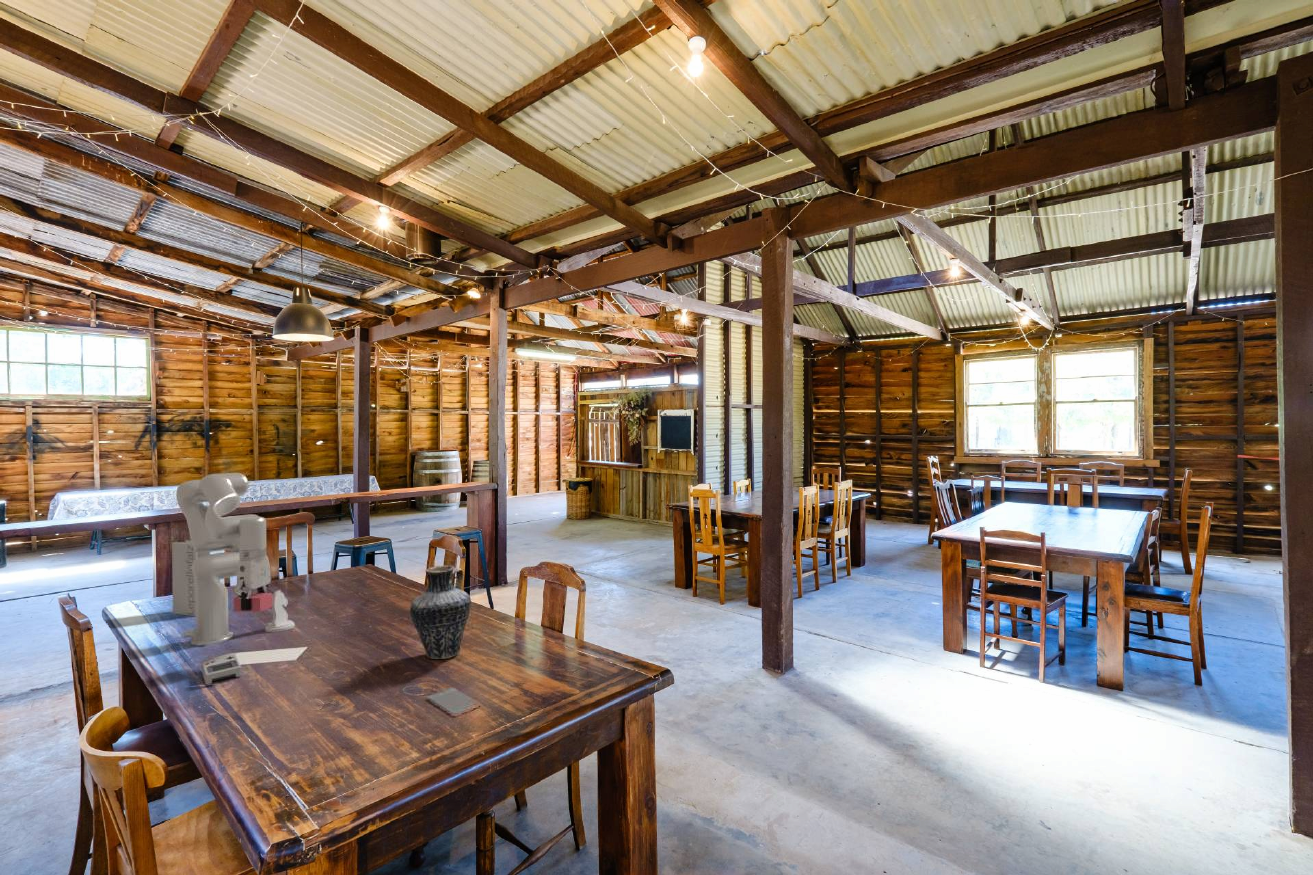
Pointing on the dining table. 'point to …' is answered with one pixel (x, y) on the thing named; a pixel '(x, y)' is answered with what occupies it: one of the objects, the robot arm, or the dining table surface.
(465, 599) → the jug
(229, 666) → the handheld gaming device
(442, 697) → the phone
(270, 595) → the card box
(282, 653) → the mat
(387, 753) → the dining table surface
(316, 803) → the dining table surface
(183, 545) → the brochure
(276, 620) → the chess piece
